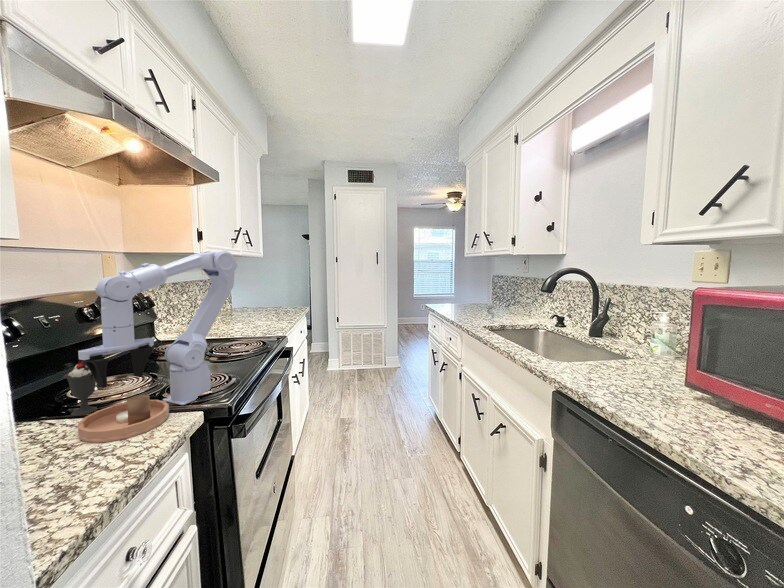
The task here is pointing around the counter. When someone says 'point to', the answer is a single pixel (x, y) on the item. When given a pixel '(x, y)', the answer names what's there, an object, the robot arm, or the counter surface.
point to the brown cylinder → (138, 409)
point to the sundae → (81, 387)
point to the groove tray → (119, 423)
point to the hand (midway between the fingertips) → (121, 381)
